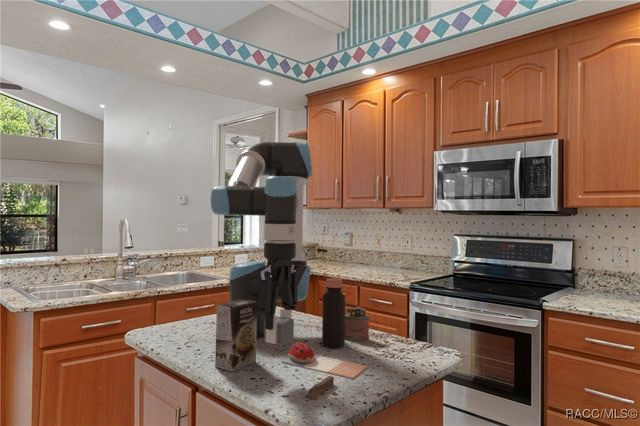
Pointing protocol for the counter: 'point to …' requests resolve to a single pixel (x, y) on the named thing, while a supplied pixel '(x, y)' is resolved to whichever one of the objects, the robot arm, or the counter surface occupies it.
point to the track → (330, 366)
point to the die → (283, 330)
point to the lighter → (356, 325)
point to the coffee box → (236, 334)
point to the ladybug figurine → (301, 353)
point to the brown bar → (321, 387)
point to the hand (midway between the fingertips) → (278, 339)
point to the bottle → (333, 315)
